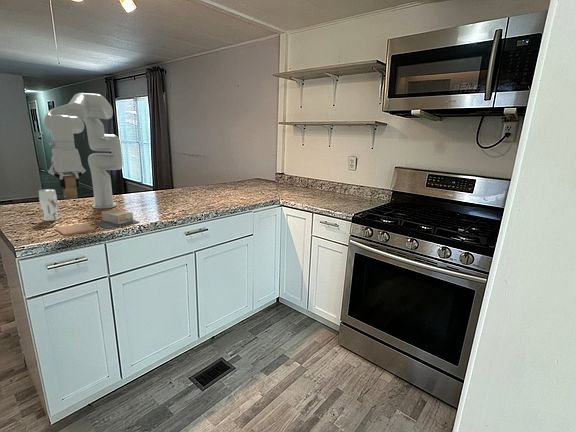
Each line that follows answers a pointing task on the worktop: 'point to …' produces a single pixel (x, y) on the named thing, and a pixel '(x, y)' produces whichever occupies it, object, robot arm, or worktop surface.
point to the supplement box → (117, 216)
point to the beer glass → (49, 204)
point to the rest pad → (75, 229)
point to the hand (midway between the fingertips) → (69, 187)
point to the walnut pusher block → (70, 187)
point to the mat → (113, 224)
